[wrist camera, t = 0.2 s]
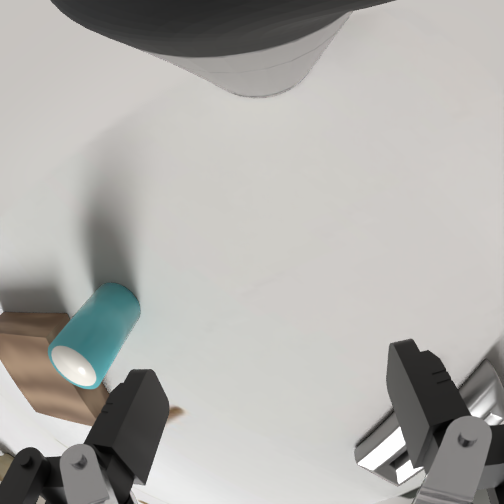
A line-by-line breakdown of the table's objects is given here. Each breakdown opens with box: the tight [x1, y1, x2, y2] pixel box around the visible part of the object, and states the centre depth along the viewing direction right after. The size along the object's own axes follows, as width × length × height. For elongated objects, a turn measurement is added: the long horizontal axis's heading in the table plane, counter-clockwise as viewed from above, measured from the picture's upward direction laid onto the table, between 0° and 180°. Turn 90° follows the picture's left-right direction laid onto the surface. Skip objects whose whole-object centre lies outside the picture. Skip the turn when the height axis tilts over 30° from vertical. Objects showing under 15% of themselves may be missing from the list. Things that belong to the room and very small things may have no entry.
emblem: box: [354, 359, 504, 486], centre depth 36 cm, size 28×5×28 cm
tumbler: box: [48, 283, 140, 389], centre depth 27 cm, size 6×6×10 cm
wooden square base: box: [0, 312, 109, 426], centre depth 35 cm, size 16×14×5 cm
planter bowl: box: [0, 453, 14, 481], centre depth 62 cm, size 16×16×11 cm
